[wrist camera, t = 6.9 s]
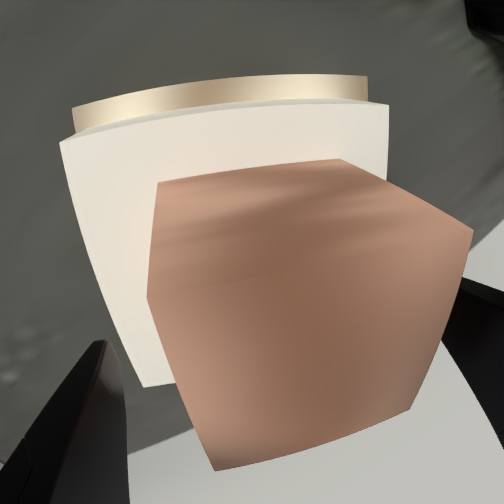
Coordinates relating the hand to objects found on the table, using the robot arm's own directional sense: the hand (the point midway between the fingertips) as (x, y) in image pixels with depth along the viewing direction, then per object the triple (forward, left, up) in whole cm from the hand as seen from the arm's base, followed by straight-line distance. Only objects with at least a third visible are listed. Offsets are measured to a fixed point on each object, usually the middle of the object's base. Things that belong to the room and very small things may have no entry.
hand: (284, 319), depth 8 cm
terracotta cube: (0, 0, -3) cm, 3 cm away
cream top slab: (0, 0, -6) cm, 6 cm away
